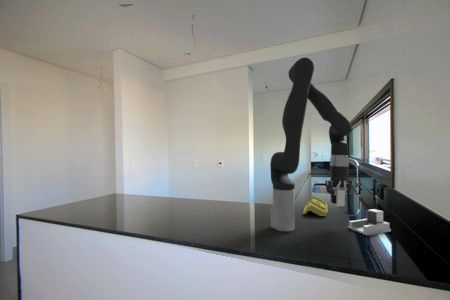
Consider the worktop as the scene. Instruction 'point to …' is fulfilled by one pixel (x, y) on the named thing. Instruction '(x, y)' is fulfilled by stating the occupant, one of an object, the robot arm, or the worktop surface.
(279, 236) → the worktop surface
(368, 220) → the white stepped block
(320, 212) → the plastic component
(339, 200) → the block
